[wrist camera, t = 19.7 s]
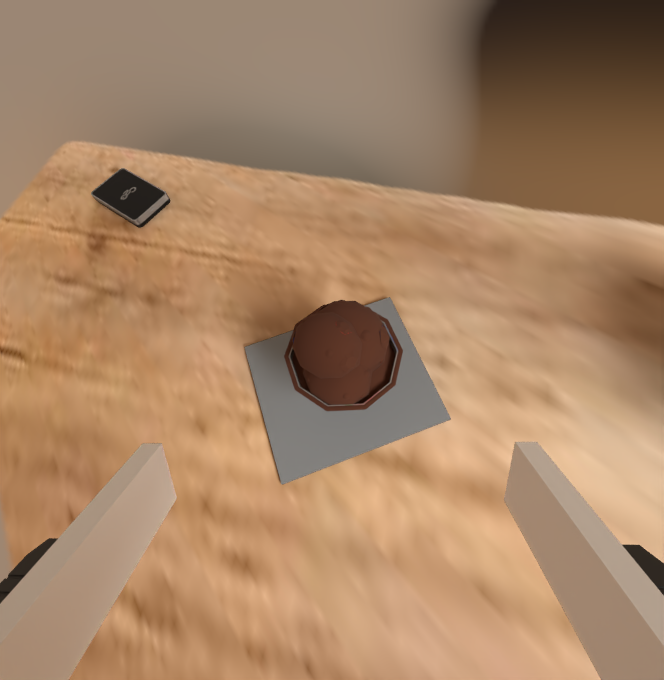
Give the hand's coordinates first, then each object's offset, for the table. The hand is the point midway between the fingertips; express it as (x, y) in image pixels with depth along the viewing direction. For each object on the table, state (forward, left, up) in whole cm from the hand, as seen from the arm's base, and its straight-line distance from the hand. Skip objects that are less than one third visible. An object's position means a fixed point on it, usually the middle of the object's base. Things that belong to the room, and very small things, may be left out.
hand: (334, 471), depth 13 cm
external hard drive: (+18, -51, -26) cm, 60 cm away
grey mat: (-3, -10, -25) cm, 28 cm away
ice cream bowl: (-4, -10, -25) cm, 27 cm away
